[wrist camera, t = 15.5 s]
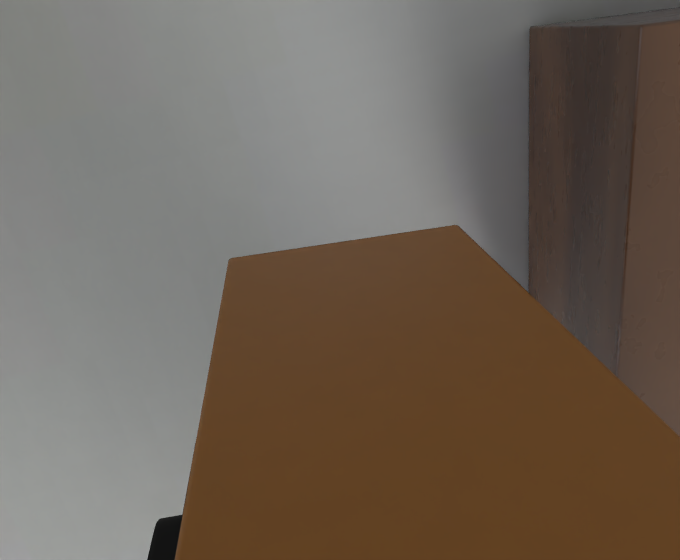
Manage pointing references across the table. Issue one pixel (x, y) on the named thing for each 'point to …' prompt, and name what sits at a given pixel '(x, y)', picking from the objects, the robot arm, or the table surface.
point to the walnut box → (610, 193)
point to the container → (416, 418)
